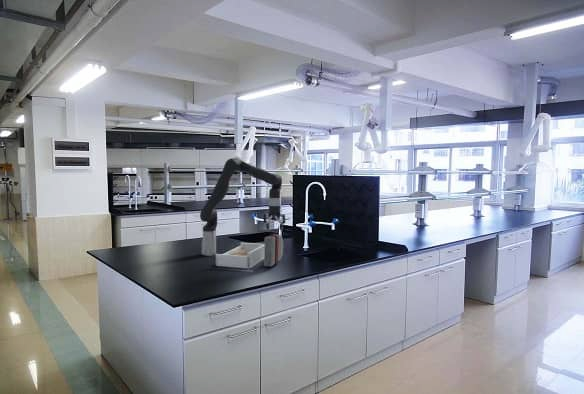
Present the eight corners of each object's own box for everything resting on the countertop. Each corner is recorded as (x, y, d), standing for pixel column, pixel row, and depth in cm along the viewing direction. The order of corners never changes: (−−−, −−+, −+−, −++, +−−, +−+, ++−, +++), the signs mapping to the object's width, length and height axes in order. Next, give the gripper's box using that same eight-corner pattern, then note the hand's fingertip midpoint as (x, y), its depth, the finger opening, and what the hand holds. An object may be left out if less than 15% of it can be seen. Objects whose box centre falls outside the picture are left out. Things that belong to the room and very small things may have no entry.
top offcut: (229, 257, 243) (229, 254, 243) (243, 253, 256) (243, 250, 256) (236, 258, 240) (236, 255, 240) (250, 253, 253) (250, 251, 253)
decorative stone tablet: (273, 236, 225) (284, 233, 254) (263, 236, 226) (275, 232, 255) (272, 268, 224) (283, 261, 254) (262, 267, 226) (274, 260, 255)
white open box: (215, 267, 230) (215, 251, 229) (241, 253, 268) (241, 239, 268) (249, 269, 224) (249, 253, 223) (270, 255, 262) (270, 241, 262)
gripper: (262, 204, 236) (262, 230, 237) (283, 205, 232) (283, 231, 234) (266, 204, 243) (265, 228, 245) (286, 204, 240) (286, 229, 241)
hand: (274, 229), depth 239 cm, fingers open, 8 cm apart
